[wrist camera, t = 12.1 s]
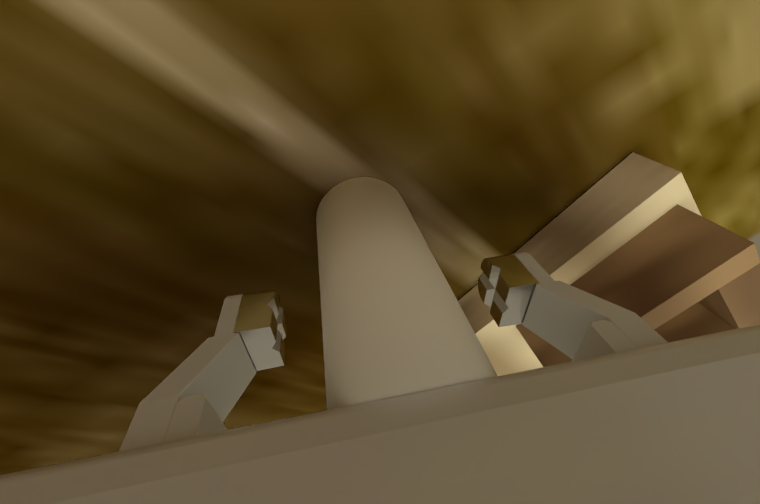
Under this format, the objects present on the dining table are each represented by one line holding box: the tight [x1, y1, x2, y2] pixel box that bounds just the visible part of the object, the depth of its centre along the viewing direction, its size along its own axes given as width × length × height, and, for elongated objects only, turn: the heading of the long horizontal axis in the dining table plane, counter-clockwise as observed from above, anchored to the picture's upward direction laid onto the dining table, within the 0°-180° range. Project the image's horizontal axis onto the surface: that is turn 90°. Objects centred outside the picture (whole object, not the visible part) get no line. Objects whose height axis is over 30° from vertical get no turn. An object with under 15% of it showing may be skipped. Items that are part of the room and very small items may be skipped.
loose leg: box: [316, 177, 498, 410], centre depth 11 cm, size 4×4×9 cm
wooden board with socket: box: [458, 152, 760, 376], centre depth 20 cm, size 26×12×5 cm, turn 139°
